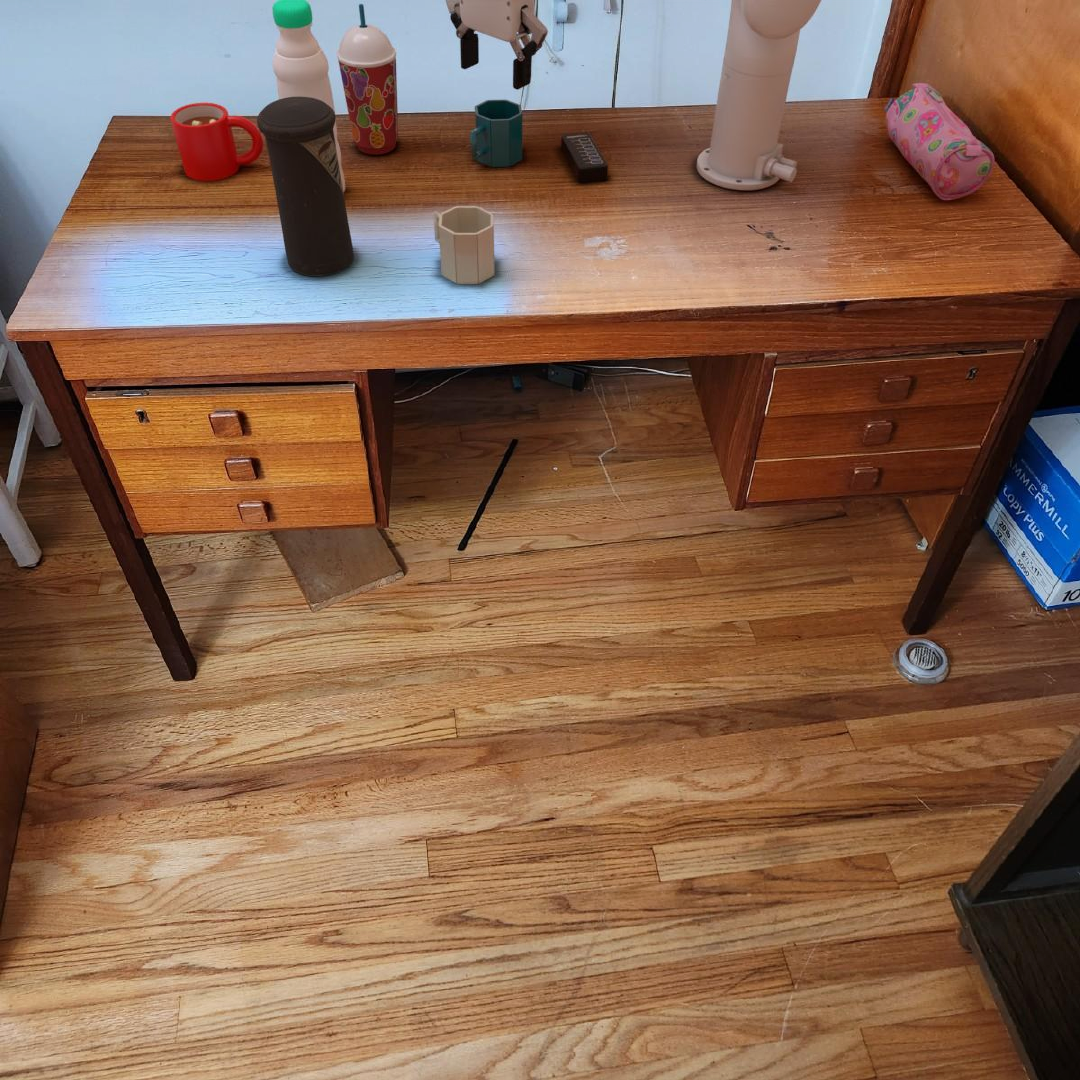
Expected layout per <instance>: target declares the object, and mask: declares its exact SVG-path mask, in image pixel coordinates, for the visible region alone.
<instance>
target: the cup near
mask: <svg viewBox="0 0 1080 1080" xmlns="http://www.w3.org/2000/svg"><path fill="white" fill-rule="evenodd" d="M494 215H495V214H494V213H492V212H490V211H488V210H486V209H485V208H483V207H480V206H478V205H455V206H453V207H451V208H448V209H447V210H445V211H443V212H440V211H439V210H435V211H433V215H432V216H433V229H434V241H435V242H436V243H438V244H439V255H440V271H441V272H440V273H441V276H442V277H443V278H445V279H447V280H449V281H451V282H452V283H454V284H457V285H478V284H481V283H483V282H485V281H487V280H489V279H490V278H492V277H494V276H495V271H496V270H495V263H496V262H495V218H494V217H495V216H494Z"/></svg>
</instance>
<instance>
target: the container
mask: <svg viewBox="0 0 1080 1080" xmlns="http://www.w3.org/2000/svg"><path fill="white" fill-rule="evenodd" d="M335 121H336V122H337V117H336V112H335V113H334V110H333V109H332V108H331V107H330V106H329V105H327V104H326V103H325V102H323V101H321V100H318V99H315V98H310V97H288V98H283V99H279V98H278V99H277V100H274V101H272V102H269V103H268V104H267V105H266V106H265V107H263V109H262V110H260V111H259V113H258V115H257V119H256V126H257V128H258V130H259V132H260V133H262V135H263V136H264V139H265V144H266V148H267V153H268V158H269V163H270V164H269V165H270V169H271V175H272V181H273V186H274V192H275V197H276V202H277V203H276V204H277V209H278V213H279V220H280V226H281V232H282V238H283V244H284V245H283V246H284V251H285V255H286V261H287V265H288V266H289V267H290V269H292V271H294V272H296V273H299V274H301V275H303V276H311V277H322V276H329V275H333V274H336V273H340V272H342V271H344V270H345V269H347V268H348V267H349V266H350V265H352V262H353V261H354V259H355V254H354V246H353V241H352V235H351V229H350V224H349V217H348V212H347V207H346V199H345V195H344V193H345V192H344V193H343V187H342V181H341V175H340V169H339V163H338V157H337V151H336V144H335V138H334V131H333V127H334V124H335Z"/></svg>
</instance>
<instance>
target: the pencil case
mask: <svg viewBox="0 0 1080 1080" xmlns="http://www.w3.org/2000/svg"><path fill="white" fill-rule="evenodd" d="M912 87H915V88H913V89H910V90H908V91H907V92H905V93H903V94H902V95H900V96H899V97H898V98H896V99H895V98H894V97H893V96H892V97H890V99H889V100H888V102H887V103H886V105H885V106H884V107H883V109H884V111H885V113H886V114H885V116H884V127H885V130H886V133H887V136H888V137H889V138H890V140H891V141H892V143H893V144H894V145H895V147H896V148H897V149H898V150H899V152H900V154H901V155H902V157H903V158H904V159H905V160H906V161H907V163H908V164H909V165H910V166H911V167H912V168H913V169H914V170H915V171H916V172H917V173H918V174H919V176H920V177H921V178H922V179H923V180H924V181H925V182H926V183H927V184H928V185H929V187H930V188H931V190H932V192H933V194H934V195H936V197H937V198H939V199H940V200H942V201H952V200H956V199H961V198H965V197H966V196H969V195H971V194H973V193H975V192H976V191H978V189H980V188H981V187H982V186H983V185H984V184H985V183H986V182H987V181H988V179H989V178H990V177H991V174H992V172H993V170H994V167H995V155H994V153H993V151H992V150H991V148H989V147H988V146H987V145H986V144H985V143H983V142H982V141H981V140H978V139H977V138H976V136H974V134H973V133H972V131H971V129H970V127H968V125H967V124H965V122H964V121H963V120H962V119H961V118H960V117H959V116H957V114H955V113H954V112H953V111H952V110H951V108H949V107H948V106H947V104H946V103H945V101H944V99H943V98H944V97H943V96H942V95H941V94H940V92H939V91H938V90H936V89H935V88H934V87H933V86H931V85H930V84H929V83H925V82H919V83H918V82H916V83H913V84H912Z"/></svg>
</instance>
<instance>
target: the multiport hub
mask: <svg viewBox="0 0 1080 1080" xmlns="http://www.w3.org/2000/svg"><path fill="white" fill-rule="evenodd" d="M560 145H561V146H560V151H561V153H562V155H563V156H564V158H565V160H566V162H567V164H568V166H569V168H570V170H571V172H572V174H573V177H575V180H576V181H577V183H578V184H589V183H599V182H606V181H608V169H609V164H608V162H607V160H606V158H605V157H604V155H603V154H602V152H601V151H600V149H599V147H598V145H597V143H596V142H595V140H594V138H593V137H592V135H591V133H590V132H588V131H586V132H585V131H584V132H574V133H563V134H561V140H560Z"/></svg>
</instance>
